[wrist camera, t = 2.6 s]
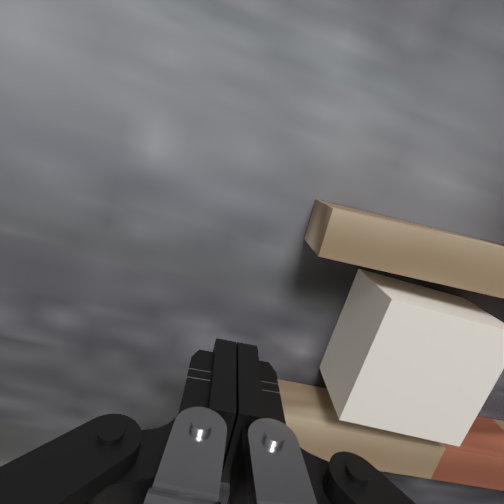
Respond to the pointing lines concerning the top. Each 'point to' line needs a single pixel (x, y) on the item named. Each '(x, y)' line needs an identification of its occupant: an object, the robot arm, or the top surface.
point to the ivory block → (411, 359)
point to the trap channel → (419, 267)
